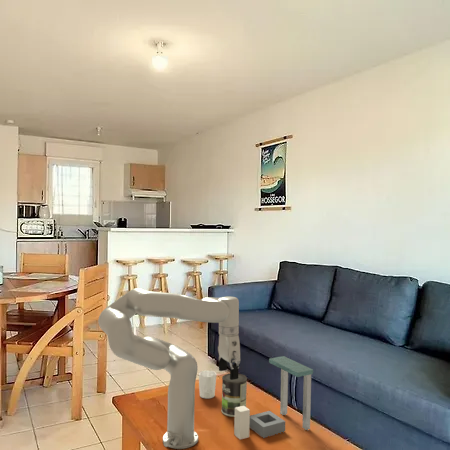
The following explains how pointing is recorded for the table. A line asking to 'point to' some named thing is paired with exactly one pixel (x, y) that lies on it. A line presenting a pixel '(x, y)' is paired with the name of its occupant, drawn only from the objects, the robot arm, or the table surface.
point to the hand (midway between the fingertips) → (228, 374)
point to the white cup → (207, 383)
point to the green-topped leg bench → (294, 369)
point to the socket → (266, 424)
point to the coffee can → (233, 394)
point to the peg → (241, 422)
